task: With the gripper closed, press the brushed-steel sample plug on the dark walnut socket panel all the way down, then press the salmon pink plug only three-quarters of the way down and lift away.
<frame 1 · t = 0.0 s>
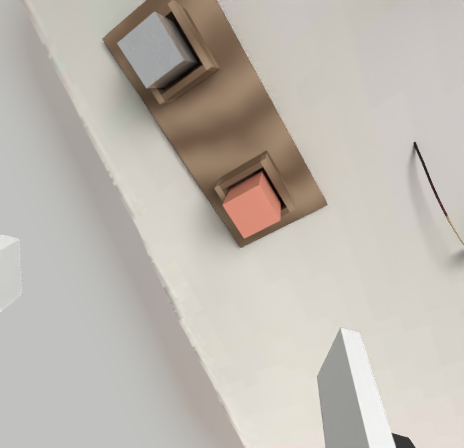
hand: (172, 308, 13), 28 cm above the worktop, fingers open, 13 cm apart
salmon pink plug: (253, 203, 33), point 7 cm above the worktop, slide at 0.0 cm
socket panel: (222, 124, 38), on the worktop
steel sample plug: (160, 53, 29), point 7 cm above the worktop, slide at 0.0 cm
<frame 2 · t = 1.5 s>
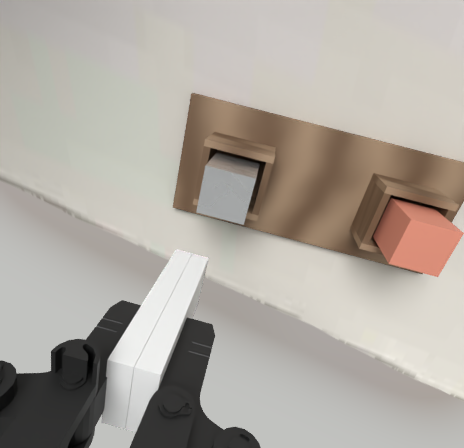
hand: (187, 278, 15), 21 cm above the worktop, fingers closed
salmon pink plug: (413, 235, 28), point 7 cm above the worktop, slide at 0.0 cm
socket panel: (313, 186, 34), on the worktop
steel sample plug: (229, 186, 28), point 7 cm above the worktop, slide at 0.0 cm
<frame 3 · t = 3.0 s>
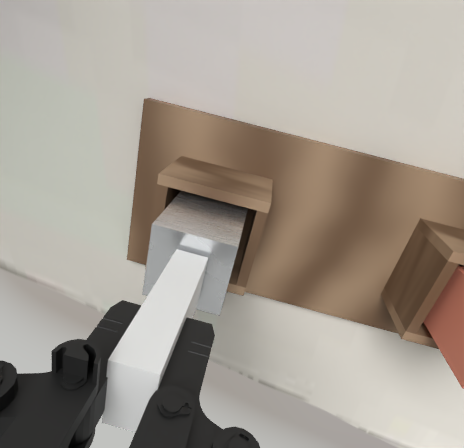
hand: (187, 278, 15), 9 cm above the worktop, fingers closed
socket panel: (327, 233, 24), on the worktop
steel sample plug: (199, 247, 18), point 7 cm above the worktop, slide at 0.4 cm, touching gripper
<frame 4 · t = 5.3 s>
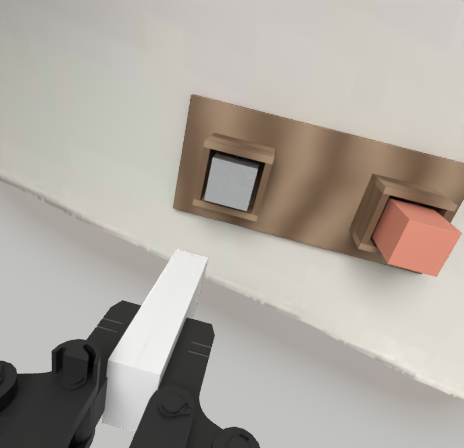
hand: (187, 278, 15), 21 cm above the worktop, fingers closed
salmon pink plug: (411, 235, 28), point 7 cm above the worktop, slide at 0.0 cm
socket panel: (312, 187, 35), on the worktop
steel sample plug: (233, 177, 31), point 4 cm above the worktop, slide at 3.2 cm
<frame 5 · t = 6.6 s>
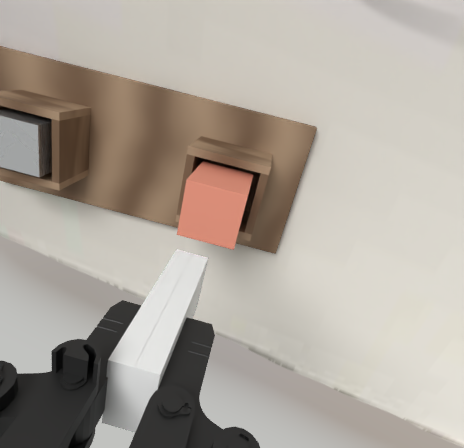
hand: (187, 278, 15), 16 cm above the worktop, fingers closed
salmon pink plug: (217, 202, 24), point 7 cm above the worktop, slide at 0.0 cm
socket panel: (146, 154, 30), on the worktop
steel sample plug: (35, 139, 27), point 4 cm above the worktop, slide at 3.2 cm
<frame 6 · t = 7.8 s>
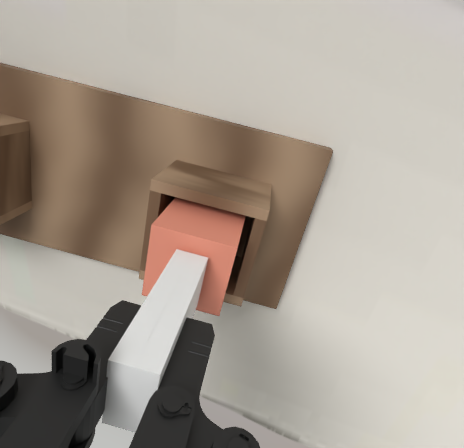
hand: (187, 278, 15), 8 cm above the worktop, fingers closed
salmon pink plug: (198, 248, 18), point 6 cm above the worktop, slide at 1.4 cm, touching gripper
socket panel: (106, 181, 23), on the worktop
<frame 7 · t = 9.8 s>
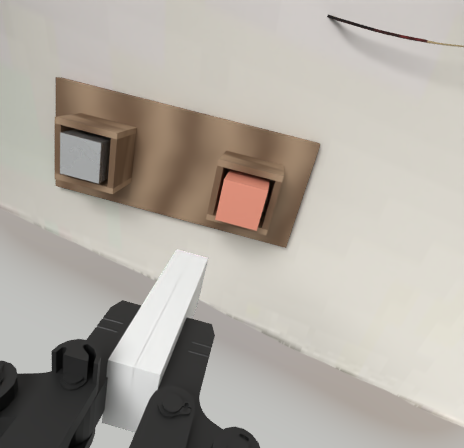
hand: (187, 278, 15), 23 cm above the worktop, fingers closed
salmon pink plug: (243, 197, 32), point 5 cm above the worktop, slide at 2.0 cm
socket panel: (179, 164, 37), on the worktop
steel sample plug: (93, 153, 34), point 4 cm above the worktop, slide at 3.2 cm
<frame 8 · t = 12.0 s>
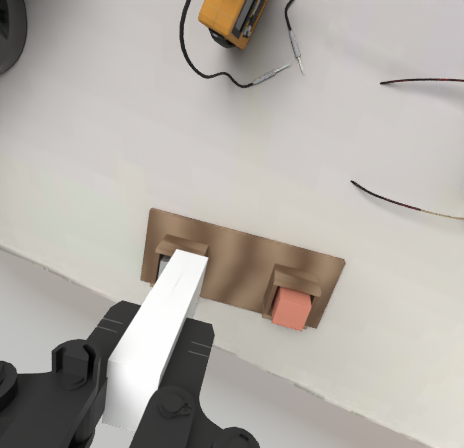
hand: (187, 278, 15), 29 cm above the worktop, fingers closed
salmon pink plug: (290, 303, 44), point 5 cm above the worktop, slide at 2.0 cm
sunglasses: (424, 144, 40), on the worktop
multimeter: (277, 28, 36), on the worktop
socket panel: (237, 268, 49), on the worktop
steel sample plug: (178, 267, 46), point 4 cm above the worktop, slide at 3.2 cm
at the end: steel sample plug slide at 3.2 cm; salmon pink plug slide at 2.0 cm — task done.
